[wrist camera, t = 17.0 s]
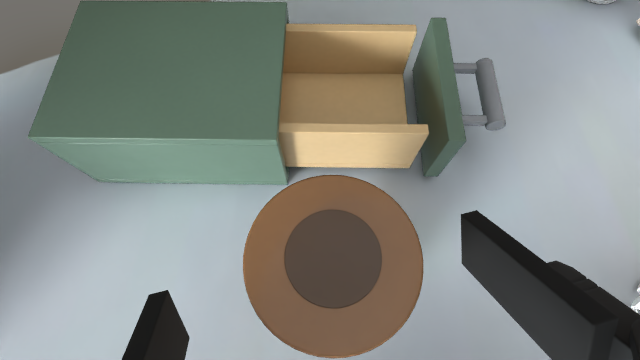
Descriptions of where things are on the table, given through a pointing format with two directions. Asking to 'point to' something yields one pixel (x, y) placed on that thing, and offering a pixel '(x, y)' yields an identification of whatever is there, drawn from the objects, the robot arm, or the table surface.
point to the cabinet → (169, 93)
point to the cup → (601, 1)
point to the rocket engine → (636, 301)
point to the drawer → (376, 97)
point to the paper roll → (333, 266)
